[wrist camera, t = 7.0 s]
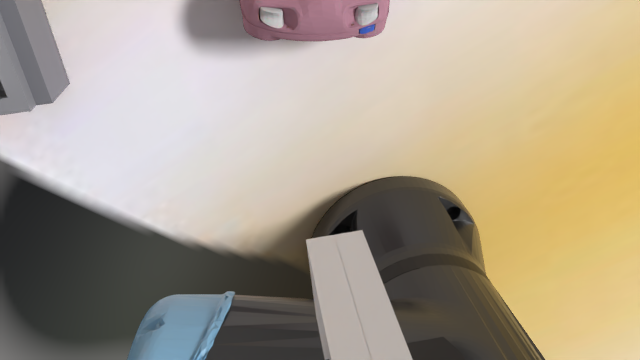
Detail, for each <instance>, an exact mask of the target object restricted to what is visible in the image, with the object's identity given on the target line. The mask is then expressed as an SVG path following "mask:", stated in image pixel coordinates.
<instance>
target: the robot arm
mask: <svg viewBox="0 0 640 360" xmlns="http://www.w3.org/2000/svg"><path fill="white" fill-rule="evenodd" d="M306 244H307V252H308V259H309V267H310V274H311V281H312V289H313V296H314V299H305V298H287V297H267V296H247V295H235V292H233V291H227V292H225V293H224V294H177V295H171V296H168V297H165V298H163V299H161V300H159V301H158V302H157V303H155V304H154V305H153V306H152V307H151V308H150V309H149V310H148V311H147V313H146V315H145V317H144V318H143V320H142V321H141V323H140V326H139V328H138V330H137V333H136V335H135V338H134V341H133V343H132V347H131V349H130V352H129V355H128V359H127V360H545V359H544V357H543V356H542V354H541V353H540V351H539V350H538V349H537V347H536V346H535V344H534V343H533V341H532V340H531V339H530V337H529V336H528V334H527V333H526V332H525V330H524V329H523V327H522V326H521V324H520V323H519V322H518V320H517V319H516V317H515V316H514V315H513V313H512V312H511V310H510V309H509V307H508V306H507V305H506V303H505V302H504V300H503V299H502V297H501V296H500V295H499V293H498V292H497V290H496V289H495V288H494V286H493V285H492V283H491V282H490V280H489V279H488V277H487V276H486V272H485V266H484V260H483V254H482V248H481V242H480V236H479V232H478V229H477V226H476V224H475V222H474V220H473V218H472V216H471V215H470V213H469V212H468V211H467V209H466V208H465V206H464V205H463V204H462V202H461V201H460V200H459V199H458V198H457V196H456V195H454V194H453V193H452V192H451V191H450V190H448V189H447V188H445V187H444V186H442V185H440V184H438V183H436V182H433V181H430V180H427V179H423V178H417V177H390V178H385V179H380V180H376V181H373V182H370V183H368V184H365V185H363V186H361V187H358V188H356V189H355V190H353V191H351V192H350V193H348V194H346V195H345V196H344V197H342V198H341V199H340V200H339V201H337V202H336V203H335V204H334V205H333V206H332V207H331V208H330V209H329V210H328V211H327V212H326V214H325V215H324V216H323V218H322V219H321V221H320V222H319V224H318V226H317V227H316V230H315V232H314V234H313V237H312V238H311V239H306Z"/></svg>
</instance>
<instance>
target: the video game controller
mask: <svg viewBox="0 0 640 360" xmlns="http://www.w3.org/2000/svg"><path fill="white" fill-rule="evenodd" d="M239 1H240V6H241V11H242V16H243V24H244V29H245V30H246V32H247V33H249V34H250V35H252V36H253V37H256V38H258V39H261V40H268V41H272V40H278V39H286V40H295V41H329V40H339V39H346V38H350V37H357V38H368V37H373V36H376V35H378V34H379V33H381V32H382V31H383V29H384V27H385V23H386V19H387V16H388V12H389V0H239Z"/></svg>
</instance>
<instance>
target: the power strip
mask: <svg viewBox="0 0 640 360" xmlns="http://www.w3.org/2000/svg"><path fill="white" fill-rule="evenodd" d="M69 84H70V83H69V80H68V77H67V74H66V71H65V68H64V65H63V62H62V59H61V57H60V54H59V51H58V48H57V45H56V42H55V39H54V36H53V33H52V30H51V28H50V25H49V22H48V19H47V16H46V13H45V10H44V7H43V4H42V2H41V0H0V115H5V114H12V113H20V112H27V111H31V110H32V109H33V108H34V107H35V106H36V105H42V104H49V103H53V102H54V101H55V100H56V98H57V97H58V96H59V95H60V94H61V93H62V92H63V91H64V89H65V88H66V87H67V86H68V85H69Z"/></svg>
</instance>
